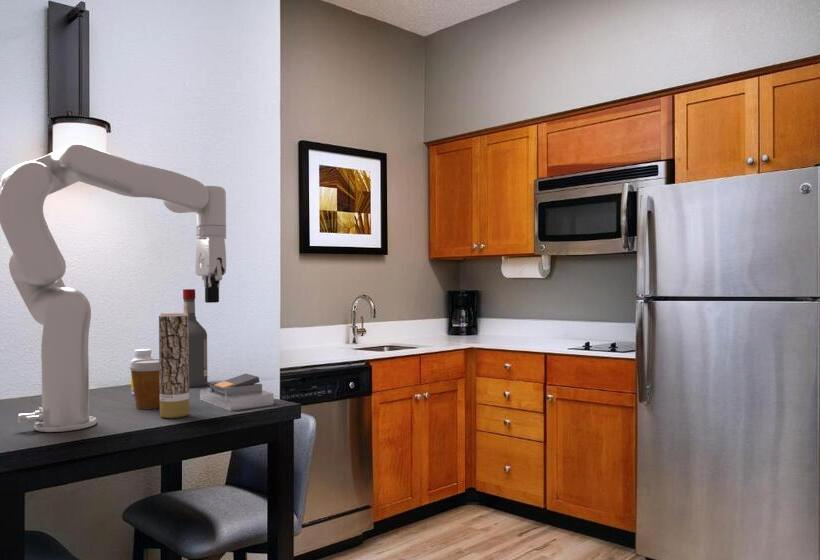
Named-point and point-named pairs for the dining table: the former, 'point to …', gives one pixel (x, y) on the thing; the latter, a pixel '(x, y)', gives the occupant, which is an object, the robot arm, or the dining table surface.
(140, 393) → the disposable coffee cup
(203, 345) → the liquor
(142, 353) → the supplement bottle
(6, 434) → the dining table surface
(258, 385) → the breaker panel
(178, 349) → the paper tube
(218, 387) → the breaker rocker
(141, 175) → the robot arm
